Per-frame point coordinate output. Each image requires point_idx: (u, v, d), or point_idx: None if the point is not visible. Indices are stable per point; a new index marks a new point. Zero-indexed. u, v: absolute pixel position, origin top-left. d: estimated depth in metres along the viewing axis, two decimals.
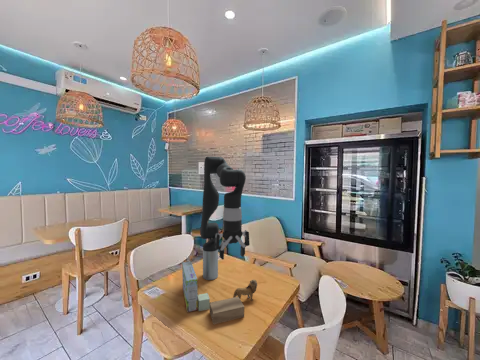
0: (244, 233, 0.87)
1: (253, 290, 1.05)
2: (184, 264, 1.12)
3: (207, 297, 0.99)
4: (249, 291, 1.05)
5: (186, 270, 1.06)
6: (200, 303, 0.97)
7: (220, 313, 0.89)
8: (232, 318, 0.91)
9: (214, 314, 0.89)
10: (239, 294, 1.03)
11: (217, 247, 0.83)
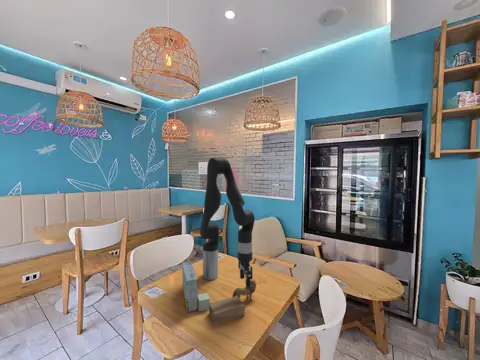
0: None
1: (252, 290, 1.05)
2: (184, 264, 1.12)
3: (207, 297, 1.00)
4: (248, 291, 1.04)
5: (186, 270, 1.06)
6: (200, 303, 0.97)
7: (220, 314, 0.89)
8: (233, 318, 0.92)
9: (215, 314, 0.88)
10: (238, 294, 1.03)
11: None
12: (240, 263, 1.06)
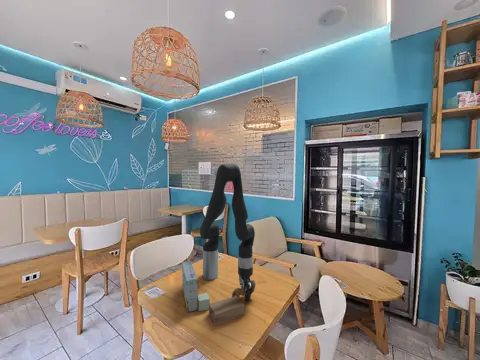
0: None
1: None
2: (184, 264, 1.12)
3: (207, 297, 1.00)
4: None
5: (186, 270, 1.06)
6: (200, 303, 0.97)
7: (221, 314, 0.89)
8: (233, 317, 0.92)
9: (216, 315, 0.88)
10: (237, 294, 1.03)
11: None
12: (240, 277, 1.06)
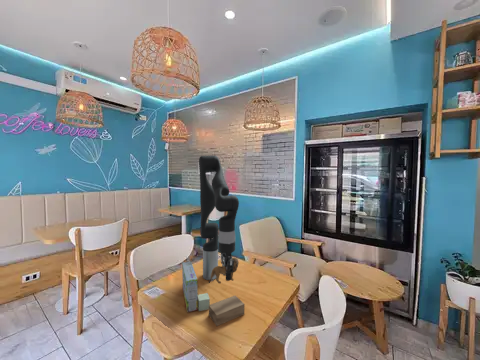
0: None
1: (233, 269, 0.93)
2: (184, 264, 1.12)
3: (207, 297, 0.99)
4: None
5: (186, 270, 1.06)
6: (200, 303, 0.97)
7: (222, 314, 0.89)
8: (234, 317, 0.92)
9: (217, 316, 0.88)
10: (217, 273, 0.91)
11: None
12: (221, 254, 0.95)
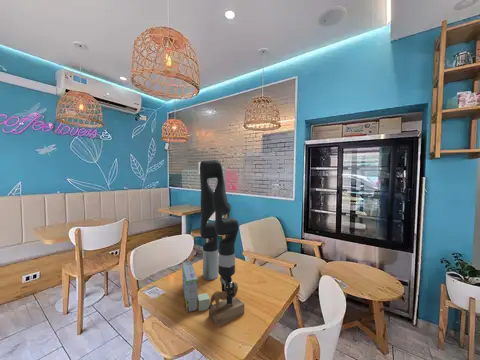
0: None
1: None
2: (184, 264, 1.12)
3: (207, 297, 1.00)
4: None
5: (186, 270, 1.06)
6: (200, 303, 0.97)
7: (223, 315, 0.89)
8: (234, 317, 0.92)
9: (219, 317, 0.87)
10: (217, 299, 0.91)
11: None
12: (221, 277, 0.95)
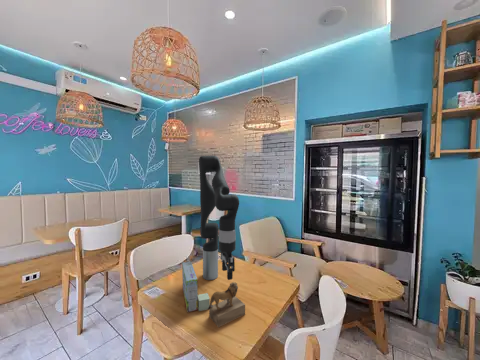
0: None
1: (233, 294, 0.93)
2: (184, 264, 1.12)
3: (207, 297, 0.99)
4: (228, 295, 0.93)
5: (186, 270, 1.06)
6: (200, 303, 0.97)
7: (224, 315, 0.88)
8: (235, 318, 0.92)
9: (219, 317, 0.87)
10: (216, 299, 0.91)
11: None
12: (222, 253, 0.94)
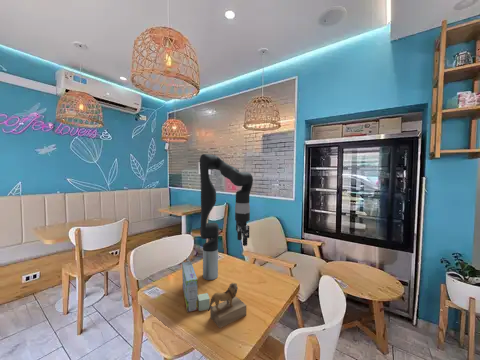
0: None
1: (233, 295, 0.93)
2: (184, 264, 1.12)
3: (207, 297, 1.00)
4: (228, 296, 0.92)
5: (186, 270, 1.06)
6: (200, 303, 0.97)
7: (225, 316, 0.88)
8: (236, 318, 0.91)
9: (220, 318, 0.86)
10: (217, 300, 0.90)
11: None
12: (237, 224, 1.07)
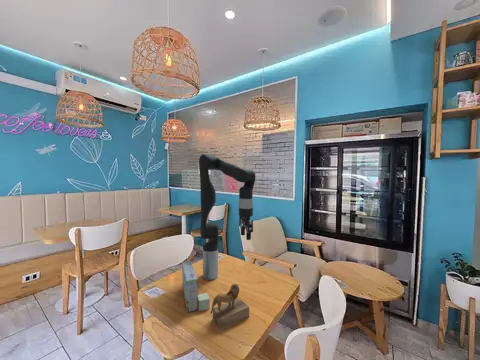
0: None
1: (235, 296, 0.92)
2: (184, 264, 1.12)
3: (207, 297, 1.00)
4: (230, 297, 0.91)
5: (186, 270, 1.06)
6: (200, 303, 0.97)
7: (227, 318, 0.87)
8: (238, 320, 0.90)
9: (222, 319, 0.86)
10: (219, 302, 0.89)
11: None
12: (241, 219, 1.11)
